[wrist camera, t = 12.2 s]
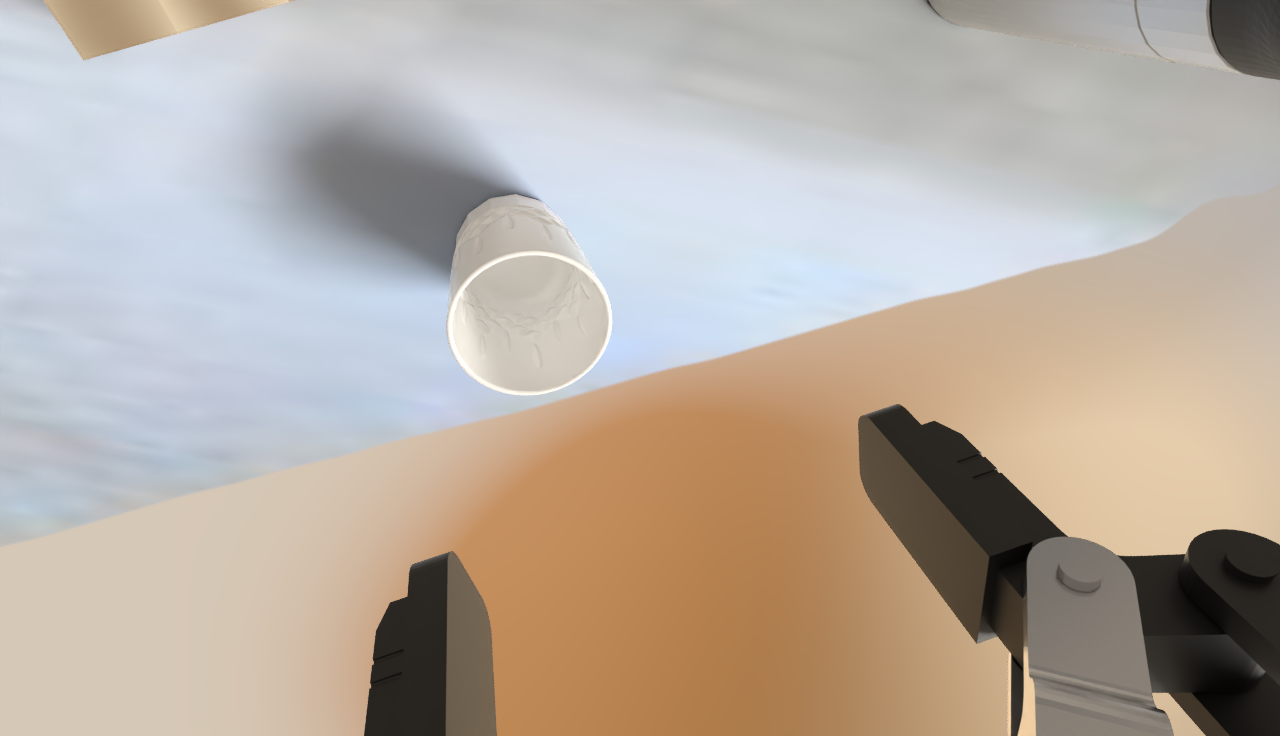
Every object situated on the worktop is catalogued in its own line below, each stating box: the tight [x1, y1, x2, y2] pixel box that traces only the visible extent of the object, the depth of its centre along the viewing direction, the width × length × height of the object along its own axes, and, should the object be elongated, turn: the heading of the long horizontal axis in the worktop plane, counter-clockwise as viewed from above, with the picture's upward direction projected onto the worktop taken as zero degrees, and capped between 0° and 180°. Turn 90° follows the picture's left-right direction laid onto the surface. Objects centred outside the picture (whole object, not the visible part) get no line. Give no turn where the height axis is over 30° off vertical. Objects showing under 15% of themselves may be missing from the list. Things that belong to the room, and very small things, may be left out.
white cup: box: [446, 194, 612, 395], centre depth 36 cm, size 8×8×10 cm
